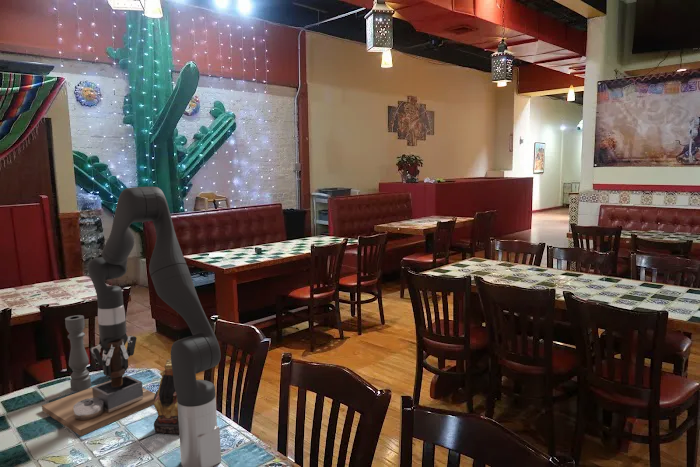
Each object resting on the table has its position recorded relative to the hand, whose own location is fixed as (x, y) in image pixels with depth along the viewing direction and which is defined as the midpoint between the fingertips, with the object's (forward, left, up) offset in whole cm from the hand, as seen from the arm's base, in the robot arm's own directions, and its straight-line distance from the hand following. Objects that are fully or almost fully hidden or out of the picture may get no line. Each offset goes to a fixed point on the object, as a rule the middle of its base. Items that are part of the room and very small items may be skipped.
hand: (116, 372), depth 151 cm
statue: (-26, -3, -12) cm, 29 cm away
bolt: (0, 0, -5) cm, 5 cm away
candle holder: (+25, 0, -12) cm, 28 cm away
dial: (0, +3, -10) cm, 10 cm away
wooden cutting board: (+6, +3, -12) cm, 13 cm away
